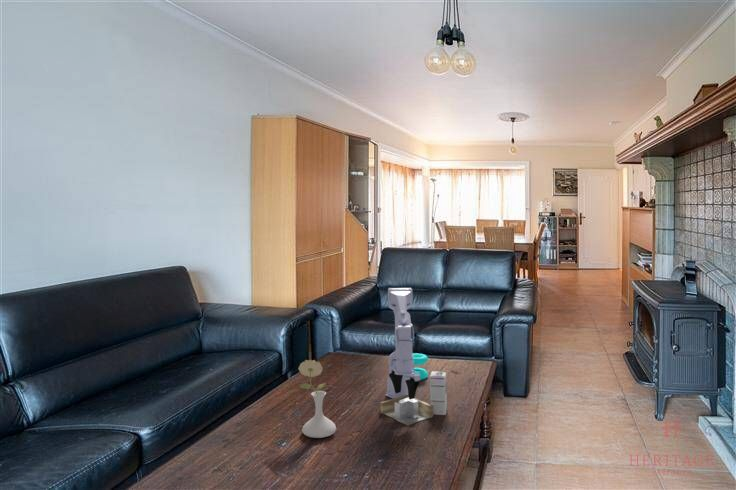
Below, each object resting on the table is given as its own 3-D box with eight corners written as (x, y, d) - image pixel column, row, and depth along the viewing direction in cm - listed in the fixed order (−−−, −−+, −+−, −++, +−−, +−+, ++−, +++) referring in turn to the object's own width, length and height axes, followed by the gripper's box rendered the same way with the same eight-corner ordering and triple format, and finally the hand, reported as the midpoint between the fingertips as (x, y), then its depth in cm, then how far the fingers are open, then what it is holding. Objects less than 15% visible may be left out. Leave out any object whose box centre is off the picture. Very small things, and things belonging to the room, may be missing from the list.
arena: (380, 413, 180) (380, 402, 180) (406, 404, 188) (406, 394, 188) (406, 426, 169) (406, 414, 169) (433, 416, 176) (433, 405, 176)
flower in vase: (341, 429, 167) (340, 357, 166) (328, 443, 156) (326, 366, 155) (307, 424, 171) (305, 354, 170) (291, 438, 160) (290, 363, 159)
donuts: (420, 359, 214) (401, 356, 220) (421, 382, 214) (401, 378, 220) (431, 354, 222) (412, 351, 228) (431, 376, 222) (413, 372, 228)
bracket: (408, 413, 179) (408, 397, 179) (418, 417, 175) (418, 401, 175) (394, 418, 174) (394, 402, 174) (404, 422, 170) (404, 405, 170)
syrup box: (446, 415, 177) (446, 376, 177) (429, 414, 179) (429, 375, 178) (447, 409, 183) (446, 371, 182) (431, 408, 184) (431, 370, 184)
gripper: (383, 355, 179) (383, 392, 179) (409, 365, 167) (409, 404, 168) (397, 352, 183) (398, 388, 184) (424, 361, 171) (424, 399, 172)
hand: (404, 395), depth 176 cm, fingers open, 7 cm apart
